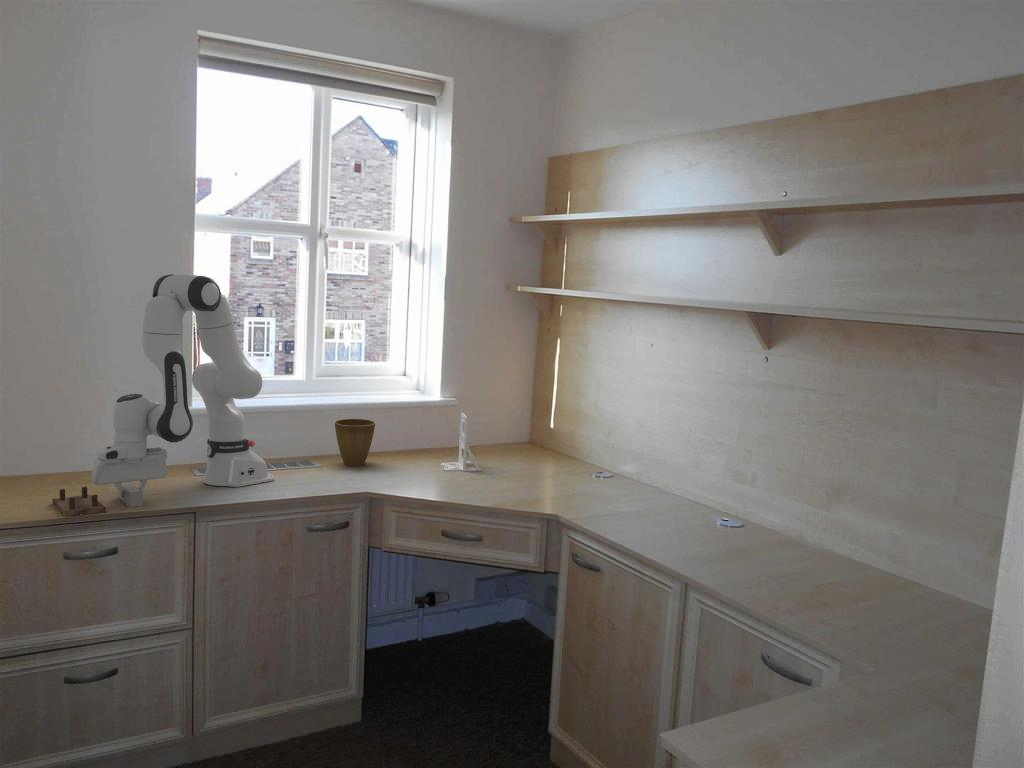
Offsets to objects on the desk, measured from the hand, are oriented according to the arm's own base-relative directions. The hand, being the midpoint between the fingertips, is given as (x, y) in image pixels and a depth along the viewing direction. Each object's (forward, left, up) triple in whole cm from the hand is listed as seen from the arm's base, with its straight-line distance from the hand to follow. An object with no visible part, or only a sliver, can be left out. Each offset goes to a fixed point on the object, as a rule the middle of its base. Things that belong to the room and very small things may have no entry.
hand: (130, 496), depth 247 cm
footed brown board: (+14, 0, -2) cm, 14 cm away
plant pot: (-83, -15, -2) cm, 84 cm away
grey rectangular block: (0, 0, -2) cm, 2 cm away
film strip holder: (-115, +8, -2) cm, 115 cm away
